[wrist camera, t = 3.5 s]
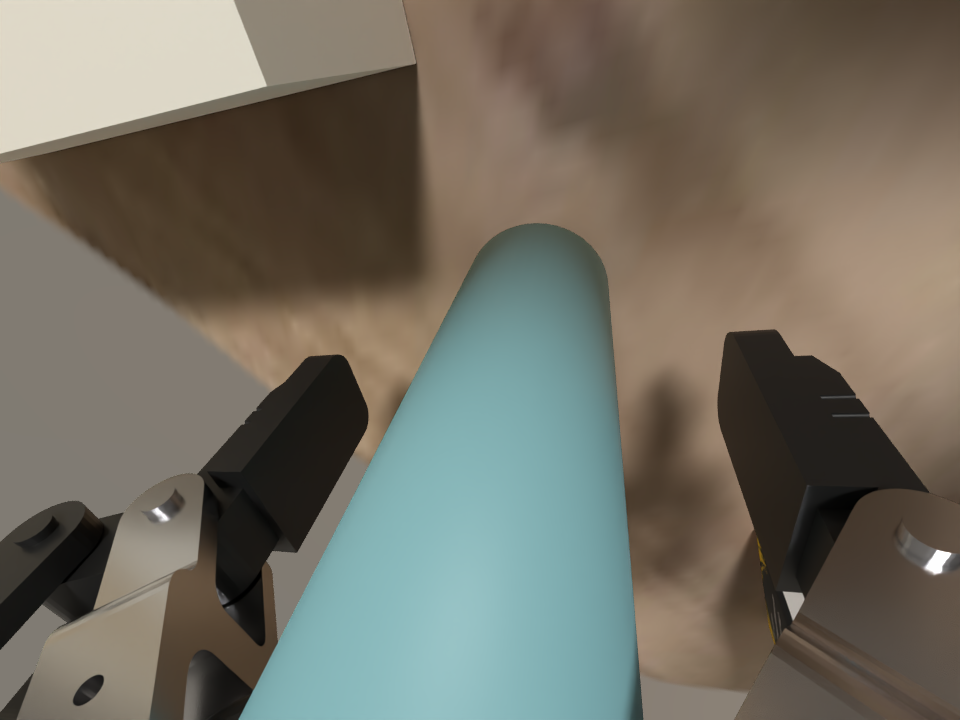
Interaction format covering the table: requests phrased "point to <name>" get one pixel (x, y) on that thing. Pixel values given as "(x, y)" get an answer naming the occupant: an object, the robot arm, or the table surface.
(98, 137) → the socket block
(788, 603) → the medicine bottle
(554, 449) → the peg
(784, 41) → the table surface
